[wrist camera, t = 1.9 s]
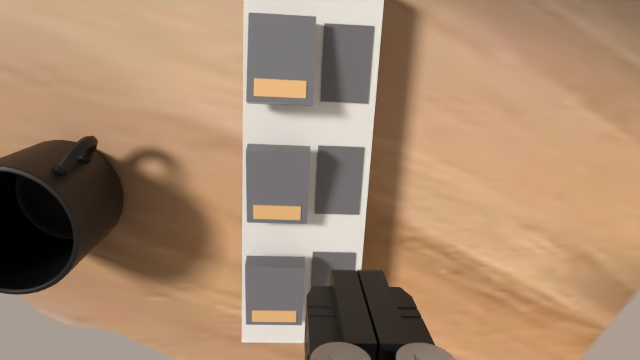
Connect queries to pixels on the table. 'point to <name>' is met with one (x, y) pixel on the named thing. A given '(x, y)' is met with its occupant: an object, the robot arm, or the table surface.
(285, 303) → the block
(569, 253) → the table surface
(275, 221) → the plate
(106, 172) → the mug
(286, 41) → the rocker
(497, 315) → the table surface
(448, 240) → the table surface
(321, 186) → the power strip
